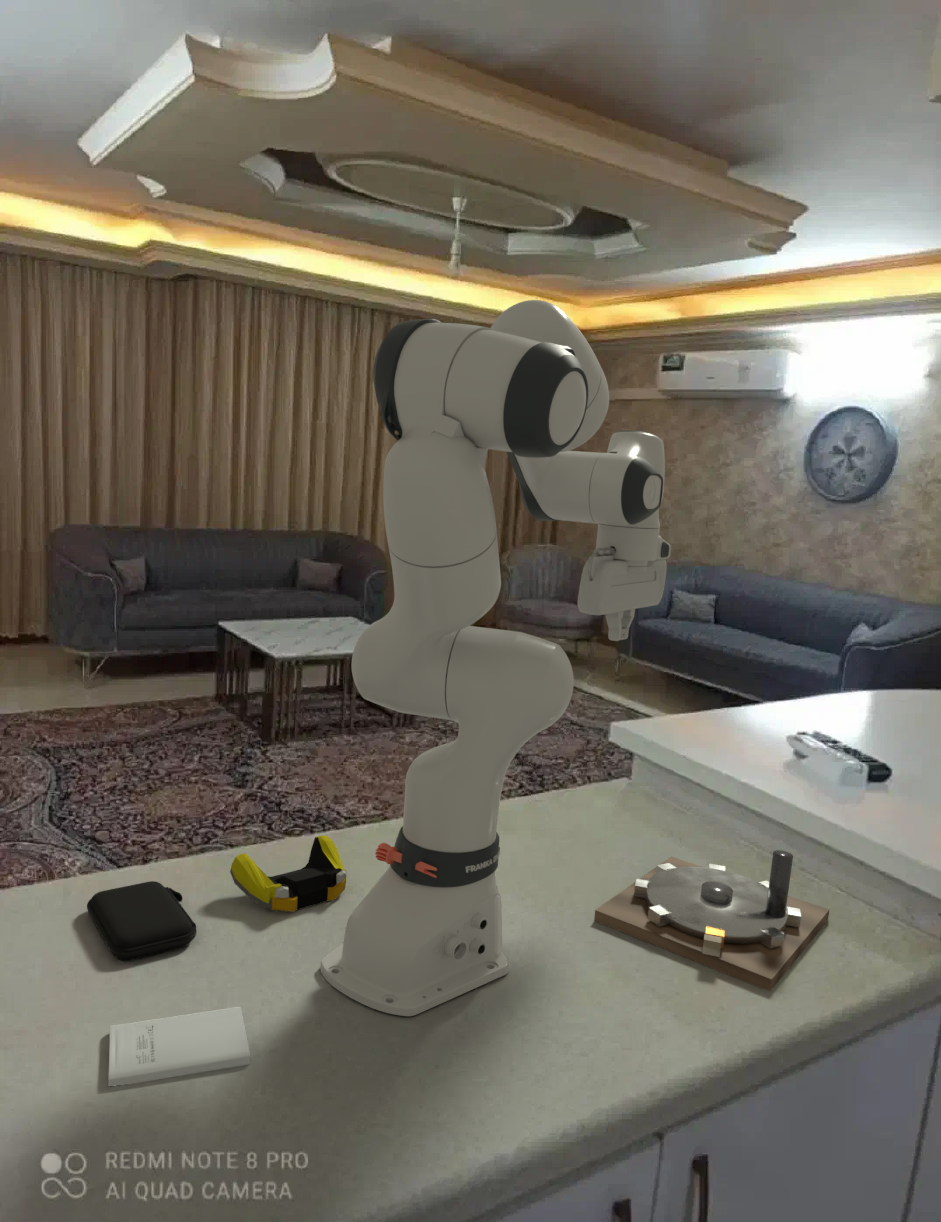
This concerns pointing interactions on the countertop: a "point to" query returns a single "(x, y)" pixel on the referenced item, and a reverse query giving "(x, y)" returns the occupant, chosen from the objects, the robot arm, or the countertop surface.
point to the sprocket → (722, 902)
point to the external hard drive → (177, 1046)
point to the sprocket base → (731, 953)
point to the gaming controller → (294, 879)
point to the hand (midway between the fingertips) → (617, 639)
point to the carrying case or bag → (141, 920)
